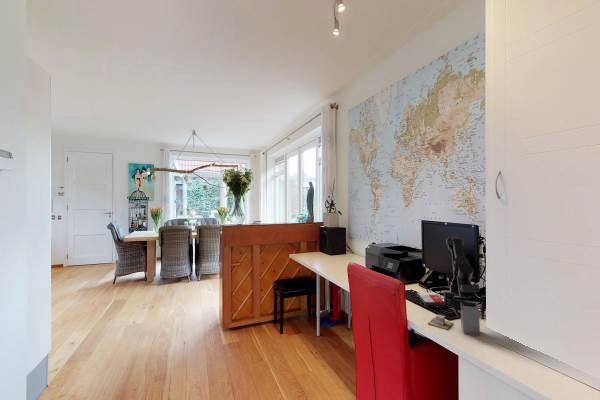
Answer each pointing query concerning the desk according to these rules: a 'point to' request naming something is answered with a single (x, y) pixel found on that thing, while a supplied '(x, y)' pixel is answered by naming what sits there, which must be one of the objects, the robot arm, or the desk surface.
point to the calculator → (430, 298)
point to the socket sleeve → (470, 318)
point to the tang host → (440, 322)
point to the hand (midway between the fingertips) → (470, 318)
